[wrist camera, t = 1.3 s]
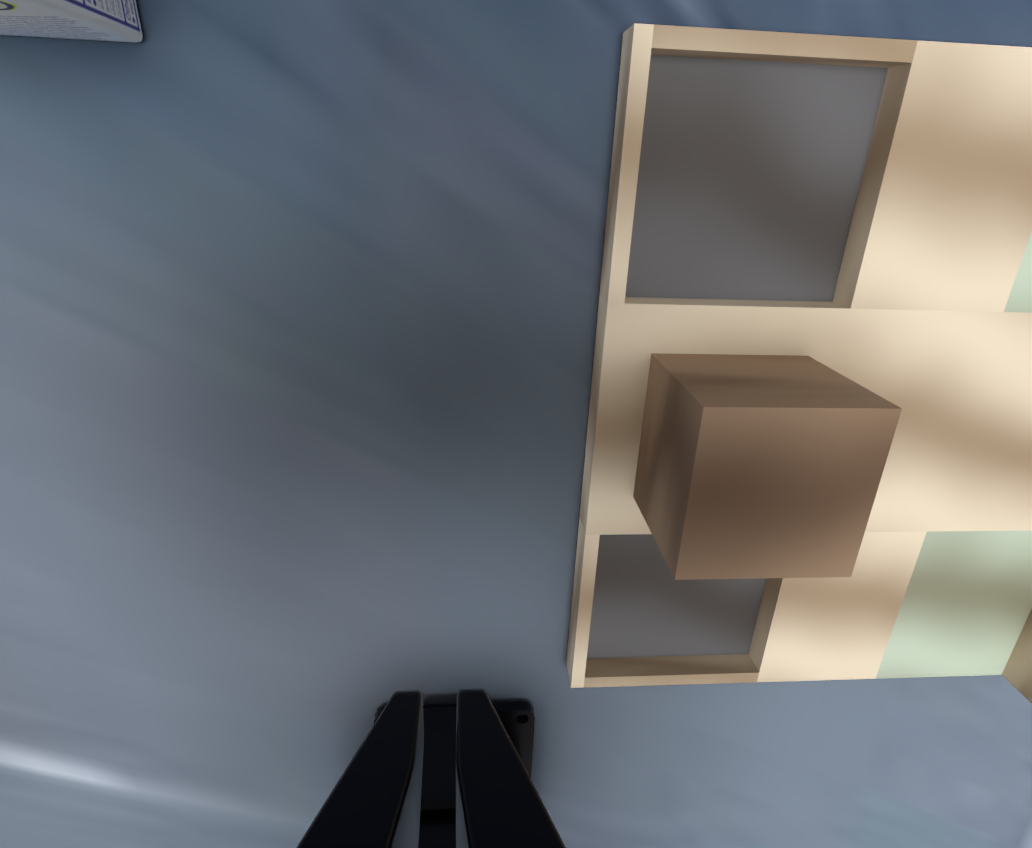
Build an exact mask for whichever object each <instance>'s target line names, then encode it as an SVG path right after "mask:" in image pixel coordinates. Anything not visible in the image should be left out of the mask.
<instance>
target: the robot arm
mask: <svg viewBox="0 0 1032 848" xmlns="http://www.w3.org/2000/svg"><path fill="white" fill-rule="evenodd" d="M522 714H524V715H522ZM521 715H522V716H521ZM534 719H535V718H534V710H533V707H532V706H531V704H529V703H526V702H508V703H492V702H491V700H490V698H489V697H488V695H487V693H486V691H485V690H484V689H481V688H477V689H460V690H459V691H458V693H457V704H446V705H423V695H422V693H421V692H420V691H418V690H411V691H397V692H395V693H394V694H393V695H392V697H391V698H390V700H389V701H388V703H387V704H386V706H385V707H382V708H380V709H378V710H377V712H376V714H375V720H374V725H373V727H372V728H371V730H370V731H369V733H368V735H367V736H366V738H365V739H364V741H363V743H362V744H361V746H360V747H359V749H358V751H357V752H356V754H355V755H354V757H353V758H352V760H351V762H350V763H349V765H348V766H347V768H346V770H345V771H344V773H343V774H342V776H341V778H340V779H339V781H338V782H337V784H336V786H335V787H334V789H333V790H332V792H331V793H330V795H329V797H328V798H327V800H326V801H325V803H324V805H323V806H322V808H321V809H320V811H319V813H318V814H317V816H316V817H315V819H314V821H313V822H312V824H311V825H310V827H309V828H308V830H307V832H306V833H305V835H304V836H303V838H302V840H301V841H300V843H299V844H298V846H297V848H566V847H565V845H564V843H563V841H562V839H561V837H560V835H559V833H558V831H557V830H556V828H555V826H554V824H553V822H552V820H551V818H550V816H549V814H548V812H547V810H546V808H545V806H544V804H543V802H542V800H541V798H540V796H539V794H538V792H537V790H536V788H535V786H534V785H533V783H532V781H531V764H532V749H533V734H534Z"/></svg>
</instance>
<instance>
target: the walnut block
mask: <svg viewBox="0 0 1032 848" xmlns="http://www.w3.org/2000/svg"><path fill="white" fill-rule="evenodd" d="M901 411H902V408H900V407H898V406H897V405H895V404H893V403H891V402H889V401H888V400H886V399H884V398H882V397H881V396H879V395H877V394H875V393H873V392H872V391H870V390H868V389H866V388H865V387H863V386H861V385H859V384H857V383H856V382H854V381H852V380H850V379H849V378H847V377H845V376H843V375H841V374H840V373H838V372H836V371H834V370H833V369H831V368H829V367H827V366H825V365H824V364H822V363H820V362H818V361H816V360H815V359H813V358H811V357H809V356H792V355H727V354H661V353H651V360H650V368H649V375H648V383H647V391H646V399H645V407H644V415H643V423H642V430H641V438H640V446H639V454H638V462H637V470H636V478H635V485H634V493H633V497H634V499H635V501H636V503H637V505H638V507H639V509H640V511H641V513H642V515H643V517H644V519H645V521H646V523H647V525H648V527H649V529H650V531H651V533H652V535H653V537H654V539H655V541H656V543H657V545H658V547H659V549H660V551H661V553H662V555H663V557H664V559H665V561H666V563H667V565H668V567H669V569H670V571H671V573H672V575H673V577H674V579H675V580H694V579H757V578H819V577H851V576H852V572H853V569H854V566H855V563H856V559H857V556H858V553H859V549H860V546H861V543H862V539H863V536H864V533H865V530H866V526H867V523H868V520H869V516H870V513H871V510H872V506H873V503H874V500H875V497H876V493H877V490H878V487H879V483H880V480H881V477H882V474H883V470H884V467H885V464H886V460H887V457H888V454H889V450H890V447H891V444H892V441H893V437H894V434H895V431H896V427H897V424H898V421H899V417H900V414H901Z"/></svg>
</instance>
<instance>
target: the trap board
mask: <svg viewBox="0 0 1032 848" xmlns="http://www.w3.org/2000/svg"><path fill="white" fill-rule="evenodd" d="M651 353H661V354H727V355H792V356H809V357H811V358H813V359H815V360H816V361H818V362H820V363H822V364H824V365H825V366H827V367H829V368H831V369H833V370H834V371H836V372H838V373H840V374H841V375H843V376H845V377H847V378H849V379H850V380H852V381H854V382H856V383H857V384H859V385H861V386H863V387H865V388H866V389H868V390H870V391H872V392H873V393H875V394H877V395H879V396H881V397H882V398H884V399H886V400H888V401H889V402H891V403H893V404H895V405H897V406H898V407H900V408H902V411H901V414H900V417H899V421H898V424H897V427H896V431H895V434H894V437H893V441H892V444H891V447H890V450H889V454H888V457H887V460H886V464H885V467H884V470H883V474H882V477H881V480H880V483H879V487H878V490H877V493H876V497H875V500H874V503H873V506H872V510H871V513H870V516H869V520H868V523H867V526H866V530H865V533H864V536H863V539H862V543H861V546H860V549H859V553H858V556H857V559H856V563H855V566H854V569H853V572H852V576H851V577H819V578H757V579H694V580H675V579H674V577H673V575H672V573H671V571H670V569H669V567H668V565H667V563H666V561H665V559H664V557H663V555H662V553H661V551H660V549H659V547H658V545H657V543H656V541H655V539H654V537H653V535H652V533H651V531H650V529H649V527H648V525H647V523H646V521H645V519H644V517H643V515H642V513H641V511H640V509H639V507H638V505H637V503H636V501H635V499H634V497H633V493H634V485H635V478H636V470H637V462H638V454H639V446H640V438H641V430H642V423H643V415H644V407H645V399H646V391H647V383H648V375H649V368H650V360H651ZM566 666H567V671H568V676H569V681H570V686H571V688H583V687H616V686H648V685H681V684H714V683H747V682H779V681H812V680H845V679H878V678H910V677H943V676H976V675H1003V676H1004V677H1005V678H1006V679H1007V680H1008V681H1009V682H1010V683H1011V684H1012V685H1013V686H1014V687H1015V688H1016V689H1017V690H1018V691H1019V692H1020V693H1021V694H1022V695H1023V696H1025V697H1026V698H1027V699H1028V700H1029V701H1030V702H1031V703H1032V47H1015V46H999V45H982V44H966V43H949V42H933V41H916V40H900V39H883V38H867V37H850V36H834V35H817V34H801V33H784V32H768V31H751V30H735V29H718V28H702V27H685V26H669V25H652V24H636V23H634V24H633V25H632V26H631V27H630V28H628V29H627V30H626V31H625V32H624V33H623V40H622V51H621V62H620V73H619V84H618V95H617V107H616V118H615V129H614V140H613V151H612V162H611V173H610V184H609V195H608V207H607V218H606V229H605V240H604V251H603V262H602V273H601V284H600V296H599V307H598V318H597V329H596V340H595V351H594V362H593V373H592V384H591V396H590V407H589V418H588V429H587V440H586V451H585V462H584V473H583V485H582V496H581V507H580V518H579V529H578V540H577V551H576V562H575V573H574V585H573V596H572V607H571V618H570V629H569V640H568V651H567V662H566Z"/></svg>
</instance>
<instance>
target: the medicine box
mask: <svg viewBox="0 0 1032 848" xmlns="http://www.w3.org/2000/svg"><path fill="white" fill-rule="evenodd" d="M0 35H13V36H32V37H50V38H67V39H84V40H102V41H120V42H140V41H142V38H143V36H142V30H141V25H140V20H139V16H138V11H137V5H136V0H0Z"/></svg>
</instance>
